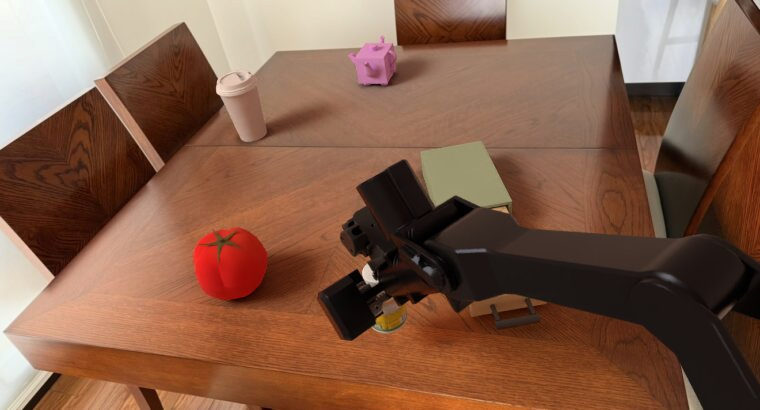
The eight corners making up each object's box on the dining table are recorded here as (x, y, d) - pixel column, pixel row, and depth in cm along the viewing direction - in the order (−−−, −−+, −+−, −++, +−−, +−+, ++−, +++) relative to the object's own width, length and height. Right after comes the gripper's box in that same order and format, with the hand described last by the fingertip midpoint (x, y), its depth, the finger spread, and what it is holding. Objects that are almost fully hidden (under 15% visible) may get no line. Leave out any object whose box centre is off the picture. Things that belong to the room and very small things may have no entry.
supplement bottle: (414, 325, 67) (406, 276, 61) (377, 341, 66) (366, 293, 60) (397, 298, 71) (388, 249, 65) (363, 312, 70) (350, 265, 64)
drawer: (557, 326, 69) (560, 309, 66) (478, 340, 69) (478, 324, 66) (507, 221, 86) (508, 205, 84) (444, 232, 86) (443, 216, 84)
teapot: (363, 65, 145) (357, 31, 139) (407, 65, 141) (403, 30, 135) (342, 95, 132) (335, 60, 126) (390, 96, 128) (385, 59, 122)
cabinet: (511, 224, 86) (512, 201, 83) (441, 236, 86) (440, 213, 83) (481, 162, 101) (481, 140, 98) (422, 172, 101) (420, 151, 98)
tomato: (192, 295, 84) (164, 248, 77) (242, 251, 90) (221, 204, 83) (240, 324, 78) (215, 275, 70) (289, 274, 84) (272, 226, 77)
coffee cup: (271, 141, 119) (253, 83, 109) (232, 148, 119) (209, 91, 109) (274, 121, 126) (257, 65, 117) (236, 127, 126) (216, 72, 117)
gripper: (449, 159, 55) (398, 195, 69) (304, 244, 48) (281, 264, 62) (502, 246, 55) (441, 264, 69) (365, 345, 47) (327, 342, 62)
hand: (375, 280), depth 65 cm, fingers closed on supplement bottle, 5 cm apart
